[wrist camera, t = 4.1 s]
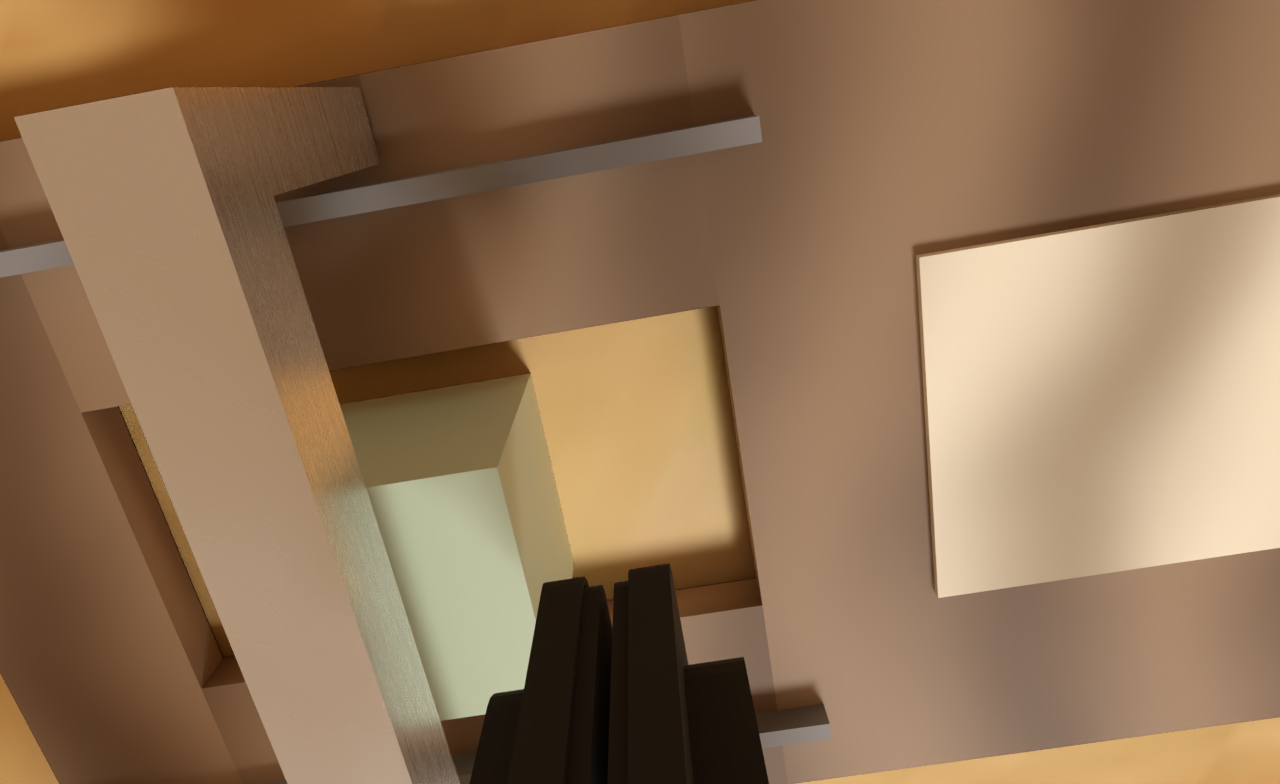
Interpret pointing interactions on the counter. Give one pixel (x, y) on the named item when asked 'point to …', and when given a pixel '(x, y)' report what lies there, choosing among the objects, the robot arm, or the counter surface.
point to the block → (465, 527)
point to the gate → (248, 402)
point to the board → (774, 367)
